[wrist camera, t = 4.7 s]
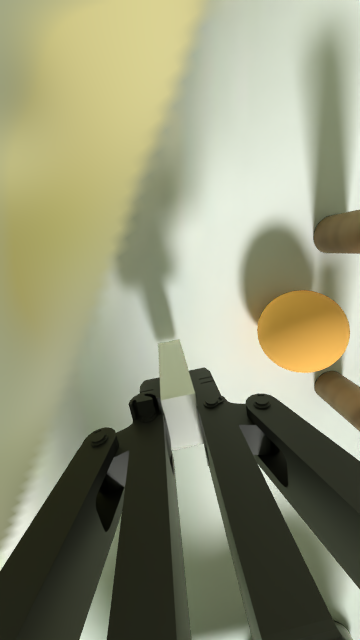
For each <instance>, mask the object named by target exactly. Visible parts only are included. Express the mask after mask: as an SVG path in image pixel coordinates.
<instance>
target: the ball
mask: <svg viewBox="0 0 360 640" xmlns="http://www.w3.org/2000/svg"><path fill="white" fill-rule="evenodd" d="M257 331H258V339H259V343H260V345H261V348H262V349H263V351H264V353H265V354H266V355H267V356H268V357H269V359H271V360H272V361H273V362H274V363H275V364H277V365H278V366H280V367H282V368H284V369H287V370H290V371H294V372H302V373H309V372H315V371H319V370H322V369H325V368H327V367H329V366H331V365H332V364H333V363H335V362H336V361H337V360H338V359H339V358H340V357H341V356H342V354H343V353H344V352H345V350H346V348H347V345H348V342H349V338H350V328H349V322H348V320H347V317H346V315H345V313H344V311H343V310H342V309H341V307H340V306H339V305H338V304H337V303H336V302H335V301H333V300H332V299H330V298H329V297H327V296H325V295H323V294H320V293H317V292H313V291H307V290H299V291H292V292H288V293H285V294H283V295H280V296H278V297H277V298H275V299H274V300H273V301H271V302H270V303H269V304H268V305H267V306H266V308H265V309H264V310H263V312H262V314H261V316H260V319H259V322H258V329H257Z"/></svg>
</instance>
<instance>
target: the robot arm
mask: <svg viewBox="0 0 360 640" xmlns="http://www.w3.org/2000/svg"><path fill="white" fill-rule="evenodd" d="M158 352H159V374H160V378H155V379H150V380H145V381H144V382H143V383H142V385H141V386H140V394H138V395H136V396H135V397H133V398H132V399H131V400H130V402H129V407H130V411H131V415H132V418H133V423H132V424H131V425H130V426H129V427H127V428H126V429H124V430H122V431H119V432H117V433H115V430H113V429H112V428H101V429H98V430H96V431H94V432H93V433H91V434H90V435H89V436H88V437H87V438H86V439H85V440H84V442H83V443H82V445H81V446H80V448H79V449H78V451H77V453H76V454H75V456H74V457H73V459H72V460H71V462H70V463H69V465H68V467H67V468H66V470H65V471H64V473H63V474H62V476H61V477H60V479H59V481H58V482H57V484H56V485H55V487H54V488H53V490H52V491H51V493H50V495H49V496H48V498H47V499H46V501H45V502H44V504H43V505H42V507H41V509H40V510H39V512H38V513H37V515H36V516H35V518H34V519H33V521H32V523H31V524H30V526H29V527H28V529H27V530H26V532H25V533H24V535H23V537H22V538H21V540H20V541H19V543H18V544H17V546H16V547H15V549H14V551H13V552H12V554H11V555H10V557H9V558H8V560H7V561H6V563H5V565H4V566H3V568H2V569H1V571H0V640H79V639H80V636H81V633H82V630H83V627H84V624H85V621H86V618H87V615H88V612H89V609H90V606H91V603H92V600H93V597H94V594H95V591H96V588H97V585H98V582H99V579H100V576H101V573H102V570H103V567H104V564H105V561H106V558H107V555H108V552H109V549H110V546H111V543H112V540H113V537H114V534H115V531H116V528H117V525H118V522H119V519H120V516H121V513H122V517H121V526H120V534H119V542H118V551H117V559H116V568H115V576H114V584H113V593H112V601H111V610H110V618H109V626H108V635H107V640H191V632H190V622H189V611H188V601H187V591H186V581H185V571H184V560H183V550H182V540H181V530H180V520H179V510H178V499H177V489H176V479H175V469H174V460H173V455H172V451H173V450H178V449H182V448H187V447H191V446H196V445H200V444H204V447H205V452H206V458H207V464H208V466H209V468H210V472H211V476H212V480H213V484H214V488H215V492H216V496H217V500H218V504H219V508H220V512H221V516H222V520H223V524H224V528H225V532H226V536H227V540H228V544H229V548H230V551H231V555H232V559H233V563H234V567H235V571H236V575H237V579H238V583H239V587H240V591H241V595H242V599H243V603H244V607H245V611H246V615H247V619H248V623H249V627H250V631H251V635H252V638H253V640H353V639H352V637H351V635H350V633H349V631H348V630H347V629H346V628H345V627H344V626H343V625H341V624H339V623H337V622H334V621H333V619H332V617H331V615H330V613H329V611H328V609H327V607H326V605H325V603H324V601H323V598H322V596H321V594H320V592H319V590H318V588H317V586H316V584H315V582H314V580H313V578H312V576H311V574H310V572H309V570H308V567H307V565H306V563H305V561H304V559H303V557H302V555H301V553H300V551H299V549H298V547H297V545H296V543H295V541H294V538H293V536H292V534H291V532H290V530H289V528H288V526H287V524H286V522H285V520H284V518H283V516H282V514H281V512H280V510H279V507H278V505H277V503H276V501H275V499H274V497H273V495H272V493H271V491H270V489H269V487H268V485H267V483H266V481H265V479H264V476H263V474H262V472H261V470H260V468H259V466H260V467H261V468H262V470H263V471H264V472H265V473H266V475H267V476H268V477H269V478H270V480H271V481H272V482H273V483H274V484H275V486H276V487H277V488H278V489H279V491H280V492H281V493H282V494H283V496H284V497H285V498H286V499H287V500H288V502H289V503H290V504H291V505H292V507H293V508H294V509H295V510H296V511H297V513H298V514H299V515H300V516H301V518H302V519H303V520H304V521H305V523H306V524H307V525H308V526H309V527H310V529H311V530H312V531H313V532H314V534H315V535H316V536H317V537H318V539H319V540H320V541H321V542H322V543H323V545H324V546H325V547H326V548H327V550H328V551H329V552H330V553H331V554H332V556H333V557H334V558H335V559H336V561H337V562H338V563H339V564H340V566H341V567H342V568H343V569H344V570H345V572H346V573H347V574H348V575H349V577H350V578H351V579H352V580H353V582H354V583H355V584H356V585H357V586H358V588H359V589H360V461H359V460H357V459H356V458H355V457H353V456H352V455H351V454H349V453H348V452H347V451H345V450H344V449H343V448H341V447H340V446H339V445H337V444H336V443H335V442H333V441H332V440H331V439H329V438H328V437H327V436H325V435H324V434H323V433H321V432H320V431H319V430H317V429H316V428H315V427H313V426H312V425H311V424H309V423H308V422H307V421H305V420H304V419H303V418H301V417H300V416H299V415H297V414H296V413H295V412H293V411H292V410H291V409H289V408H288V407H287V406H285V405H284V404H283V403H281V402H280V401H278V400H277V399H276V398H274V397H272V396H271V395H267V394H255V395H252V396H250V397H248V399H247V400H246V404H235V403H230V402H228V401H227V400H226V399H225V398H224V397H223V396H221V394H220V392H219V390H218V388H217V386H216V384H215V381H214V379H213V377H212V375H211V373H210V371H209V370H207V369H206V368H200V369H195V370H190V371H188V367H187V364H186V360H185V357H184V353H183V350H182V346H181V343H180V340H174V341H169V342H164V343H159V344H158ZM171 448H172V450H171ZM258 465H259V466H258Z"/></svg>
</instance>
